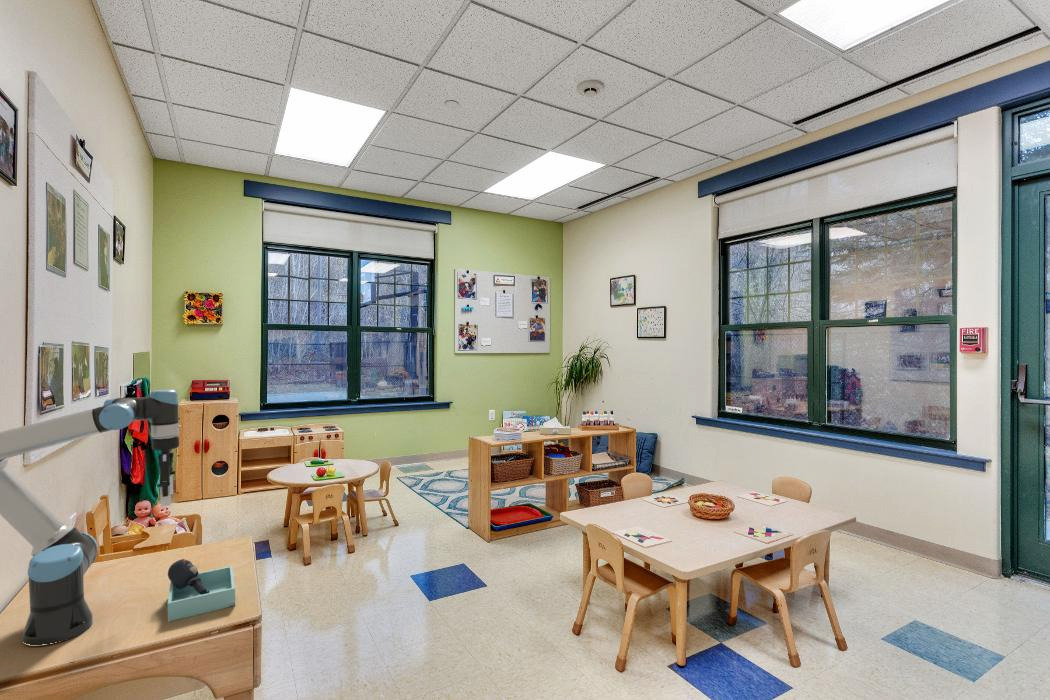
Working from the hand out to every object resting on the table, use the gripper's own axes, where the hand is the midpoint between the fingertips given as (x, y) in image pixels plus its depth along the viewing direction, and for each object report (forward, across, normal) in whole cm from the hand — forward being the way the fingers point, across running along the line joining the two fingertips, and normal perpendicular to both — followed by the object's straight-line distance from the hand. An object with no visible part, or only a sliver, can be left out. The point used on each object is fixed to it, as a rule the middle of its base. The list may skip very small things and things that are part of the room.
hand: (167, 500), depth 174 cm
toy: (+29, -13, -10) cm, 34 cm away
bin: (+31, -13, -10) cm, 35 cm away
